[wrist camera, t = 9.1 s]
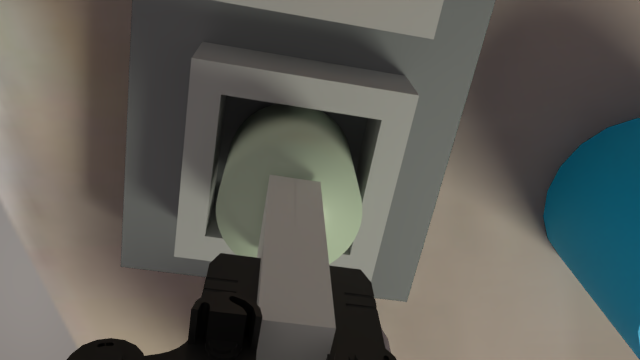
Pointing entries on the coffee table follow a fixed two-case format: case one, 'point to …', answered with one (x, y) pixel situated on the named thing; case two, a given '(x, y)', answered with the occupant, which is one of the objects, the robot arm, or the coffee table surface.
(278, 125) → the sage button
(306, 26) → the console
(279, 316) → the robot arm
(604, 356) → the coffee table surface
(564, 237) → the mug
